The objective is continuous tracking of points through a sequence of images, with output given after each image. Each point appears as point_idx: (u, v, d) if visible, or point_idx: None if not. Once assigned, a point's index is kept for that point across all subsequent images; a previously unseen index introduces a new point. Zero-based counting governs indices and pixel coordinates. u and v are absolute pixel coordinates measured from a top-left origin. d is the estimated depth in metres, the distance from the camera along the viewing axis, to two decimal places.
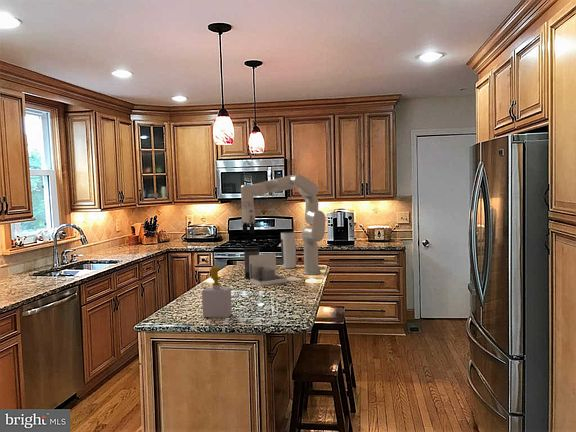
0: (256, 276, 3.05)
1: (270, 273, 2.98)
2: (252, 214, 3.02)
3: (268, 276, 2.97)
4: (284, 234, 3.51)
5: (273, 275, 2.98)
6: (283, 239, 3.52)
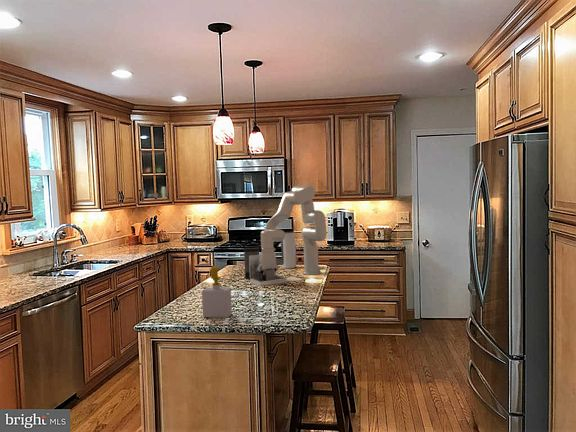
0: (256, 276, 3.05)
1: (270, 273, 2.98)
2: None
3: (268, 276, 2.97)
4: None
5: (273, 275, 2.98)
6: None
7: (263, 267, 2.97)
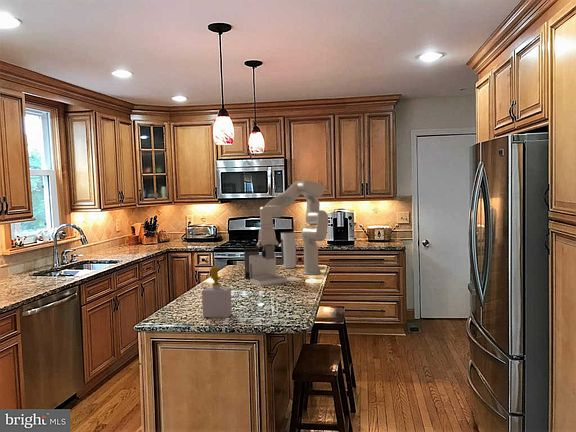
0: (256, 276, 3.05)
1: (270, 249, 2.97)
2: None
3: (268, 252, 2.96)
4: (284, 234, 3.51)
5: (273, 251, 2.98)
6: (283, 239, 3.52)
7: (262, 243, 2.96)
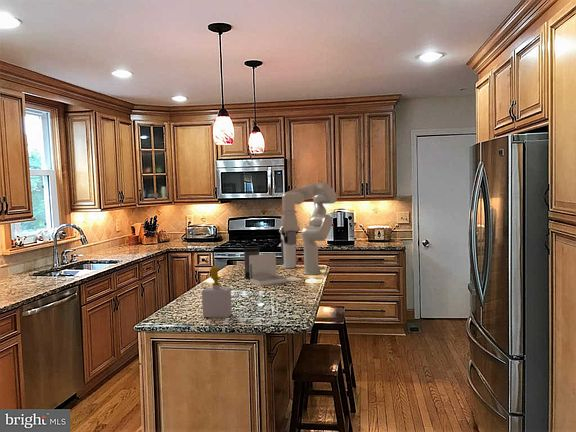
0: (256, 276, 3.05)
1: (292, 235, 3.04)
2: None
3: (290, 237, 3.03)
4: None
5: (295, 237, 3.05)
6: (283, 239, 3.52)
7: (285, 229, 3.03)
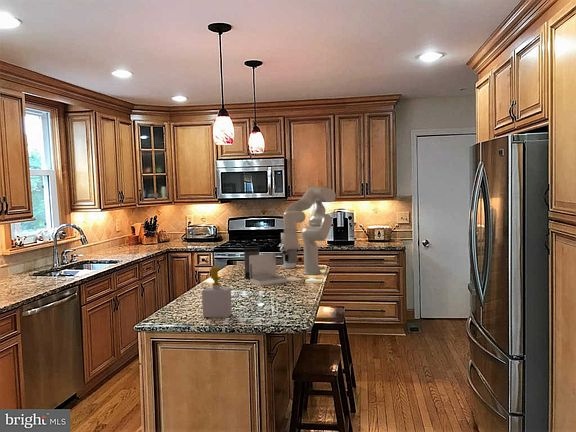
0: (256, 276, 3.05)
1: (293, 253, 3.04)
2: None
3: (290, 256, 3.04)
4: None
5: (295, 255, 3.05)
6: None
7: (286, 247, 3.04)
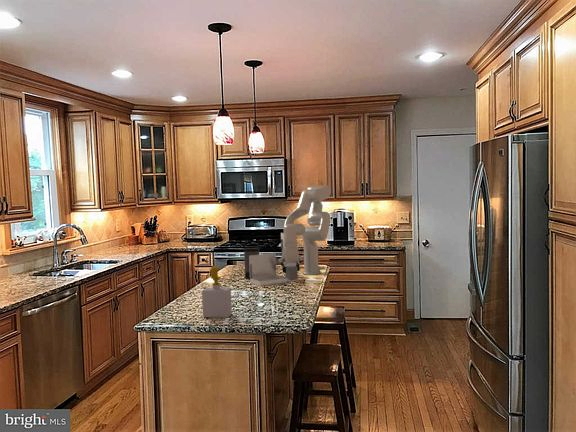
0: (256, 276, 3.05)
1: (293, 270, 3.05)
2: None
3: (291, 273, 3.05)
4: None
5: (296, 272, 3.06)
6: (283, 239, 3.52)
7: (286, 260, 3.04)
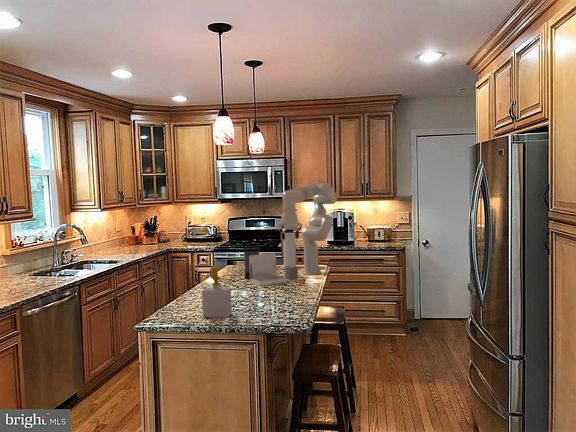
0: (256, 276, 3.05)
1: (293, 270, 3.05)
2: None
3: (291, 273, 3.05)
4: None
5: (296, 272, 3.06)
6: None
7: (285, 227, 3.03)
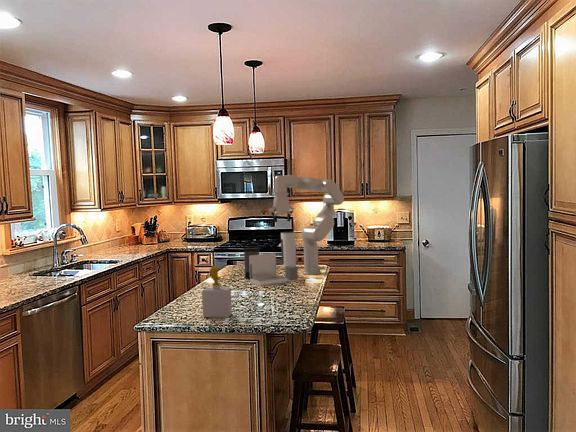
0: (256, 276, 3.05)
1: (293, 270, 3.05)
2: None
3: (291, 273, 3.05)
4: (284, 234, 3.51)
5: (296, 272, 3.06)
6: (283, 239, 3.52)
7: (277, 210, 3.11)
